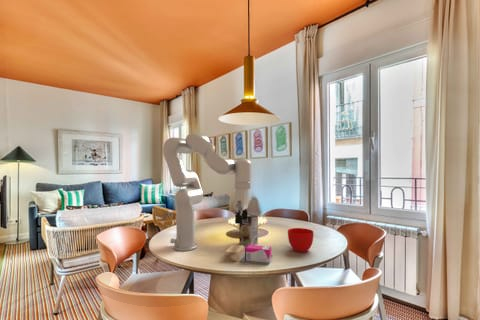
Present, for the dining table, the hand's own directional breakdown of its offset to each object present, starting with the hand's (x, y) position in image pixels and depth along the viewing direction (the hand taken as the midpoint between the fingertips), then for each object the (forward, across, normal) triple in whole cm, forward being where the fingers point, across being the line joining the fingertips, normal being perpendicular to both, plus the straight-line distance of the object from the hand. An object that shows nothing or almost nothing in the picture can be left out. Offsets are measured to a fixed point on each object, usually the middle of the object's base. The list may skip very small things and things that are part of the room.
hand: (241, 221), depth 124 cm
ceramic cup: (+16, -20, +26) cm, 37 cm away
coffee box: (+18, -23, -2) cm, 29 cm away
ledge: (+17, 0, -3) cm, 17 cm away
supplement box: (+14, +2, +3) cm, 14 cm away
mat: (+17, 0, +8) cm, 19 cm away
